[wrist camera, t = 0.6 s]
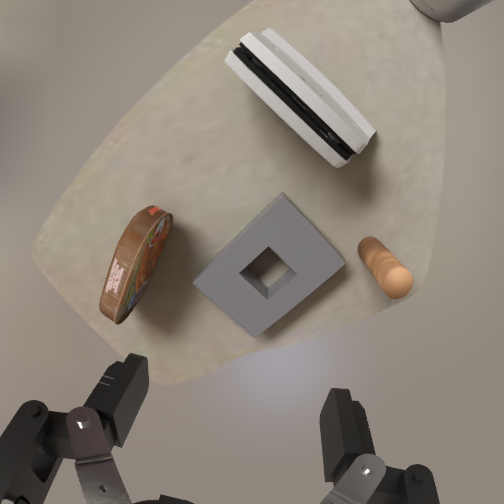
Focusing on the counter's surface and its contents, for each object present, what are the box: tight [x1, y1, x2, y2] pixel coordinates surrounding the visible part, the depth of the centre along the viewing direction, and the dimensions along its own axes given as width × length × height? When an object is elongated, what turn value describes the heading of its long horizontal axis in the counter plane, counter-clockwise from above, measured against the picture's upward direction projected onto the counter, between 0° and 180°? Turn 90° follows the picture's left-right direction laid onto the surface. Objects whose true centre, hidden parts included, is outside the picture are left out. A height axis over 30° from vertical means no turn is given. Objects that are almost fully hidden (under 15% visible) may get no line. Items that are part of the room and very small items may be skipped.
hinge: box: [225, 27, 376, 168], centre depth 27 cm, size 17×5×10 cm, turn 45°
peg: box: [358, 237, 413, 299], centre depth 31 cm, size 3×3×10 cm
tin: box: [99, 205, 173, 325], centre depth 34 cm, size 15×3×8 cm, turn 152°
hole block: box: [193, 192, 346, 338], centre depth 36 cm, size 14×10×3 cm
